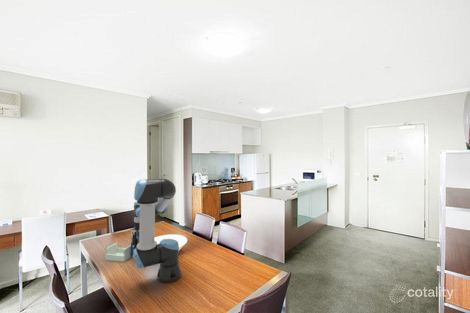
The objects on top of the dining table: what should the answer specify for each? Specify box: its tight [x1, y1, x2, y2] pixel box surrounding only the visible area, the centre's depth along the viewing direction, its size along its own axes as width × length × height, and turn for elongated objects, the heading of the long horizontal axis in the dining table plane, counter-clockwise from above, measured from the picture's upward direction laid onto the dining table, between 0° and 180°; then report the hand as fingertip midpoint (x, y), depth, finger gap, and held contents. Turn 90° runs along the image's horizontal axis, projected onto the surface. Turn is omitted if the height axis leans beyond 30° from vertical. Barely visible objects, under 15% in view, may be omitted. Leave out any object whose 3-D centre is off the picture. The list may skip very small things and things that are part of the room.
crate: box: [104, 241, 132, 263], centre depth 164 cm, size 16×13×9 cm
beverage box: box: [130, 227, 140, 260], centre depth 164 cm, size 7×11×22 cm, turn 62°
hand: (139, 250), depth 164 cm, fingers open, 7 cm apart
